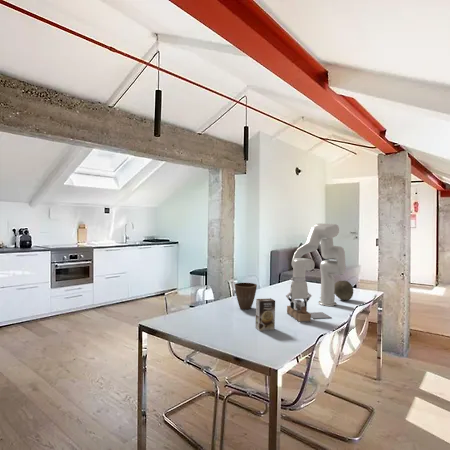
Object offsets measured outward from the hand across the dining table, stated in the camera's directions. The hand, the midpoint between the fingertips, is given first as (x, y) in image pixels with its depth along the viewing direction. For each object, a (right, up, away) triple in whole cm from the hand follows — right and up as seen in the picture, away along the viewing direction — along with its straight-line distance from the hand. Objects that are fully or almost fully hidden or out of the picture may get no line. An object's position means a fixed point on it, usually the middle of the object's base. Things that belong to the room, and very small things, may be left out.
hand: (298, 308), depth 210 cm
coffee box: (-23, -6, -23) cm, 33 cm away
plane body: (0, -6, 0) cm, 6 cm away
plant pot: (-31, -5, +21) cm, 38 cm away
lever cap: (0, -1, 0) cm, 1 cm away
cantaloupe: (+45, -6, +49) cm, 67 cm away
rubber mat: (+13, -6, +5) cm, 15 cm away
